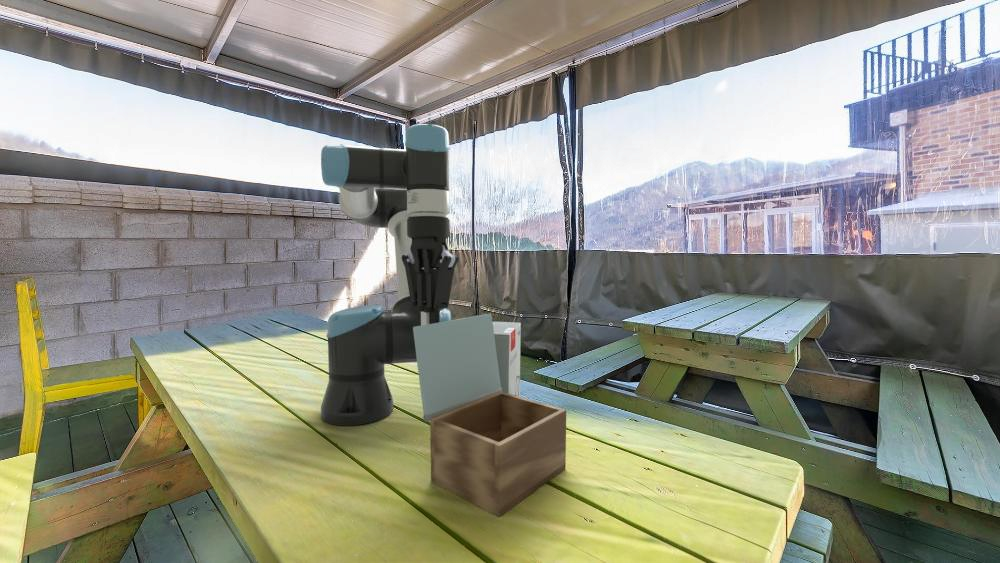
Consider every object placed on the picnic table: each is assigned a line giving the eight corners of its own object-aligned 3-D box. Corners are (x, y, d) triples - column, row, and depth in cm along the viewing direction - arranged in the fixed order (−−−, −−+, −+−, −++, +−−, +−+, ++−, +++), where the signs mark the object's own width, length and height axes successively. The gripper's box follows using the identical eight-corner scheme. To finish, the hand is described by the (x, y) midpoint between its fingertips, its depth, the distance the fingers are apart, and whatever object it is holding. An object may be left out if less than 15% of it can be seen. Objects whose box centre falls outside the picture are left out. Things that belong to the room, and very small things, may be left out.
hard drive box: (508, 436, 84) (508, 335, 83) (470, 433, 86) (469, 333, 84) (520, 407, 99) (521, 321, 98) (488, 405, 101) (488, 320, 99)
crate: (430, 481, 68) (430, 419, 67) (500, 443, 81) (500, 391, 80) (499, 517, 59) (499, 446, 58) (565, 468, 72) (566, 409, 71)
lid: (428, 422, 67) (423, 421, 68) (502, 392, 80) (497, 392, 81) (416, 326, 67) (411, 327, 68) (492, 313, 81) (487, 314, 82)
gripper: (388, 216, 79) (390, 345, 81) (437, 212, 70) (438, 356, 72) (421, 218, 84) (422, 338, 86) (469, 215, 76) (469, 348, 78)
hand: (429, 346), depth 79 cm, fingers closed
